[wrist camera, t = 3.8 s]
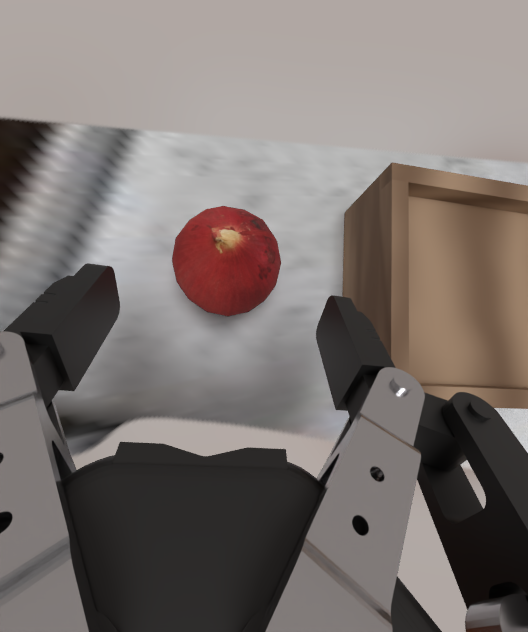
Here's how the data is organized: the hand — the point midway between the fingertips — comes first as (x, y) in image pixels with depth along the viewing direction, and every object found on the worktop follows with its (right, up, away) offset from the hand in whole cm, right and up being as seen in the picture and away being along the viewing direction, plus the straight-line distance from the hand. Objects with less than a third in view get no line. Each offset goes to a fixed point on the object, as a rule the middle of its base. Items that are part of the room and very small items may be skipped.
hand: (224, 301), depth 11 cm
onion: (-1, +2, +9) cm, 9 cm away
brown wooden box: (+14, 0, +11) cm, 17 cm away
